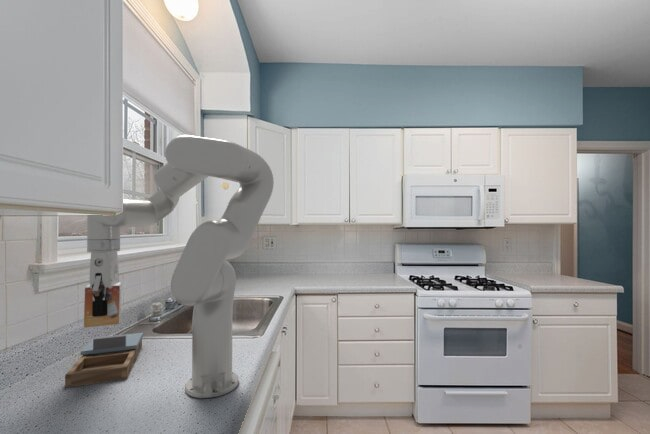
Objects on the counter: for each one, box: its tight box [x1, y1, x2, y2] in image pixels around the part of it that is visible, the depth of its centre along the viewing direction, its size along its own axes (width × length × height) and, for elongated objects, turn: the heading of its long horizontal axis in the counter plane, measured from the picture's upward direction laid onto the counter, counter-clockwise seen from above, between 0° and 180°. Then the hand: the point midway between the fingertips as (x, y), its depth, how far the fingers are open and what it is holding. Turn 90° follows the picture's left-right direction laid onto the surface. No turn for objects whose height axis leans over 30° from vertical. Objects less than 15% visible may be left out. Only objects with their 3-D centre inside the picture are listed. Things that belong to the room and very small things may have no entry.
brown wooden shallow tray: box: [64, 338, 143, 388], centre depth 97 cm, size 24×13×3 cm, turn 20°
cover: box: [80, 332, 144, 356], centre depth 103 cm, size 12×14×4 cm
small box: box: [83, 281, 122, 329], centre depth 91 cm, size 8×6×10 cm
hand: (103, 311), depth 91 cm, fingers closed on small box, 6 cm apart
